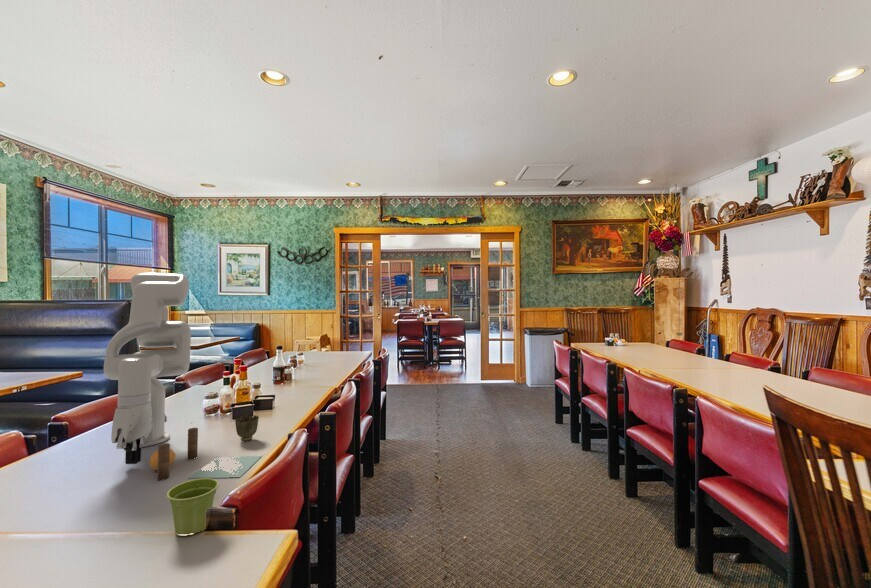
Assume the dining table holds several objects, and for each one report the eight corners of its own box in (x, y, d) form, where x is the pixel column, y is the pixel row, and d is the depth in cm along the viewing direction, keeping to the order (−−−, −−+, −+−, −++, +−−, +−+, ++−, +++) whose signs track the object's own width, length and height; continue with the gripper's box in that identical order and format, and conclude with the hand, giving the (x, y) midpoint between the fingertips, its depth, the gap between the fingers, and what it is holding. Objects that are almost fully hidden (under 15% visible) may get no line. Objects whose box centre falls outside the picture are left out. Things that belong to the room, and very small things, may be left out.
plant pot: (182, 517, 85) (183, 478, 85) (225, 515, 85) (226, 477, 86) (155, 543, 75) (156, 500, 75) (204, 541, 76) (204, 498, 76)
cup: (262, 437, 134) (263, 414, 134) (250, 445, 127) (250, 421, 127) (243, 436, 135) (243, 414, 135) (230, 444, 128) (230, 420, 128)
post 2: (185, 459, 115) (186, 430, 115) (190, 456, 117) (191, 427, 117) (194, 459, 115) (194, 430, 115) (199, 456, 117) (199, 427, 118)
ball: (166, 462, 105) (153, 478, 105) (184, 454, 111) (171, 470, 111) (153, 447, 106) (140, 463, 106) (171, 440, 112) (158, 456, 112)
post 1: (155, 480, 102) (155, 447, 102) (161, 475, 104) (162, 443, 104) (165, 480, 102) (165, 447, 102) (171, 475, 104) (172, 443, 104)
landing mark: (188, 478, 103) (188, 477, 103) (216, 457, 117) (216, 456, 117) (239, 477, 103) (239, 477, 103) (261, 456, 117) (261, 456, 117)
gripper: (140, 393, 117) (139, 452, 116) (99, 407, 102) (97, 474, 101) (165, 393, 117) (163, 452, 117) (127, 407, 102) (125, 474, 102)
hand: (133, 462), depth 109 cm, fingers closed
